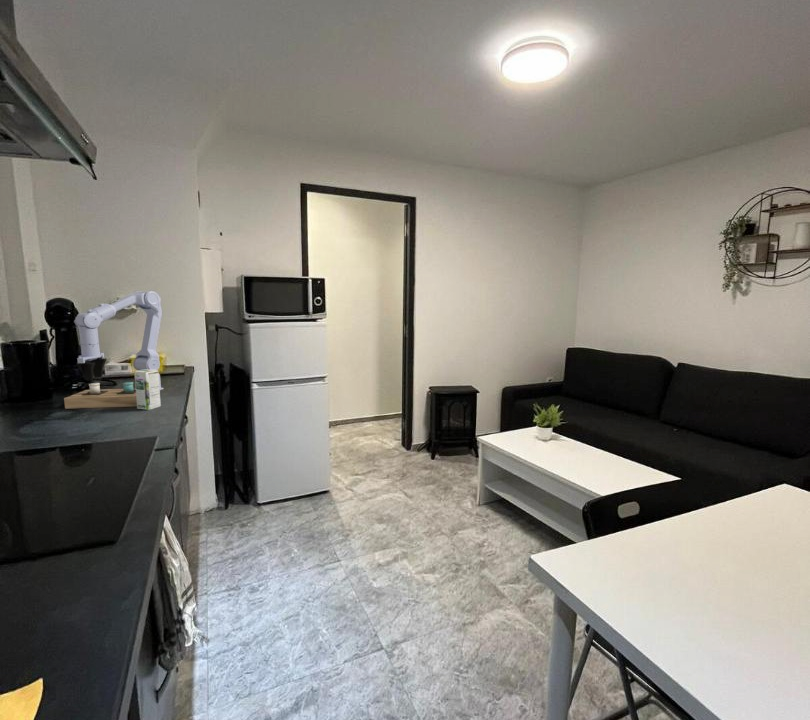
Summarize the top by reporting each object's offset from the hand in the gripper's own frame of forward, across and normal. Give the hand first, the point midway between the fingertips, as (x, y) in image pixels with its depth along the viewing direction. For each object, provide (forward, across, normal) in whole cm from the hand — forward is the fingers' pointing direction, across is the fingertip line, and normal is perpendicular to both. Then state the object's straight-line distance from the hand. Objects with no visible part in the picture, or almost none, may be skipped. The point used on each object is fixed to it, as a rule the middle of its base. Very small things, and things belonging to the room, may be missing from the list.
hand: (93, 378), depth 160 cm
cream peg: (+6, 0, 0) cm, 6 cm away
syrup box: (+10, +10, +23) cm, 27 cm away
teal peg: (+6, 0, +12) cm, 14 cm away
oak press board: (+10, 0, +6) cm, 12 cm away
